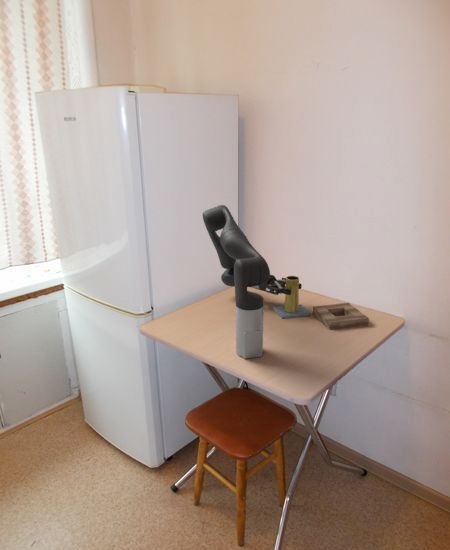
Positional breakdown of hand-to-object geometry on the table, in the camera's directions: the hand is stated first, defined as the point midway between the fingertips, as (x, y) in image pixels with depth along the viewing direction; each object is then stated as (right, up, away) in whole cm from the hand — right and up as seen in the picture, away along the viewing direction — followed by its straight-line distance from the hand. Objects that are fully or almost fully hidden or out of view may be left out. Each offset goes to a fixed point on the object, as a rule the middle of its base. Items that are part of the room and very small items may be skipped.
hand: (296, 289), depth 172 cm
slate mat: (-1, -10, +4) cm, 11 cm away
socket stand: (+17, -12, -3) cm, 21 cm away
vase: (-1, -9, +4) cm, 10 cm away
